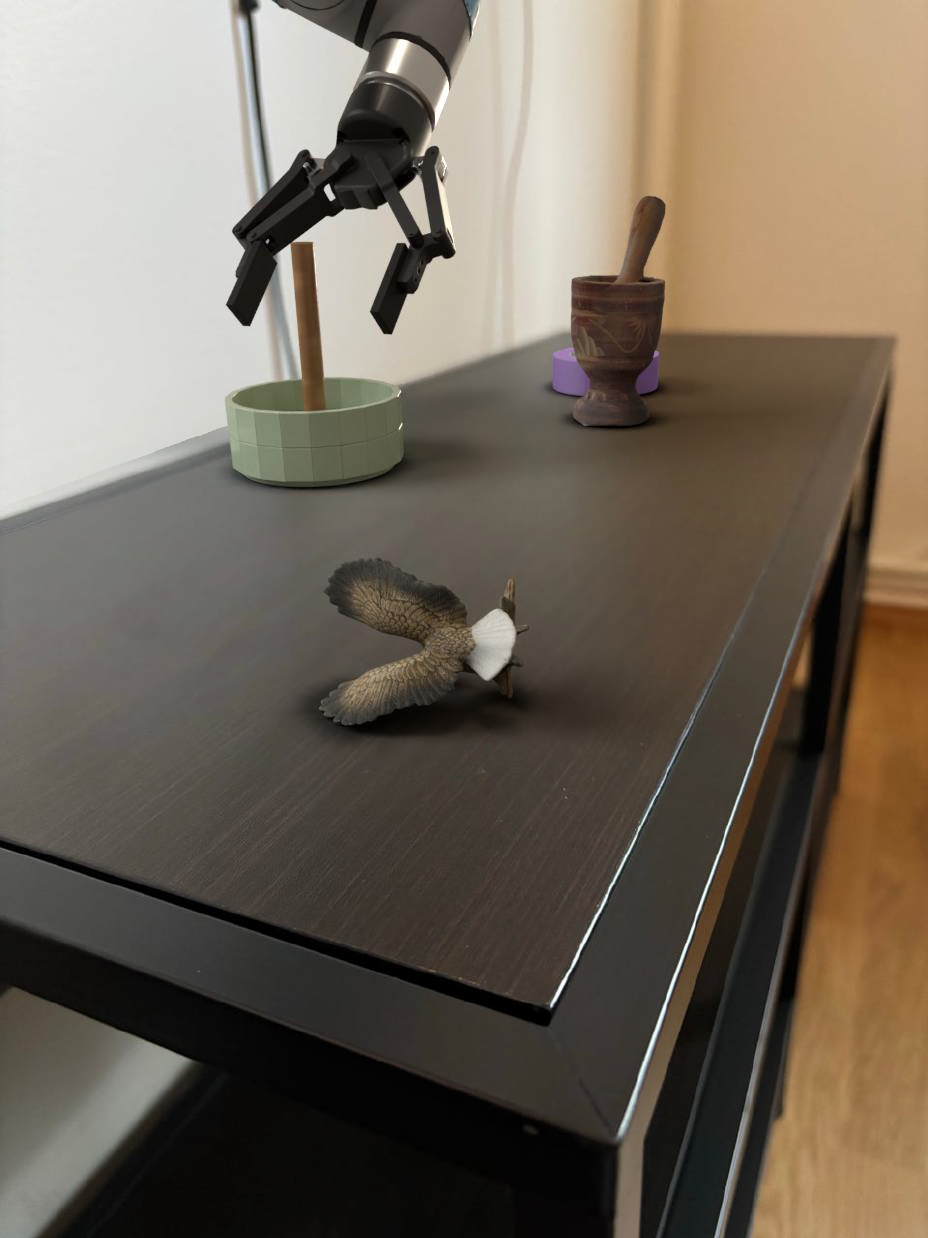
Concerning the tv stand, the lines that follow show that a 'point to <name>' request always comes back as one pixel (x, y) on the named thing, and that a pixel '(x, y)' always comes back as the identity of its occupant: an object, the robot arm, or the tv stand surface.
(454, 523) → the tv stand surface
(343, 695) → the eagle figurine
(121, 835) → the tv stand surface
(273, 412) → the bowl
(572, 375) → the tape roll
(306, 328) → the wooden peg stand
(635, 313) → the mortar and pestle
